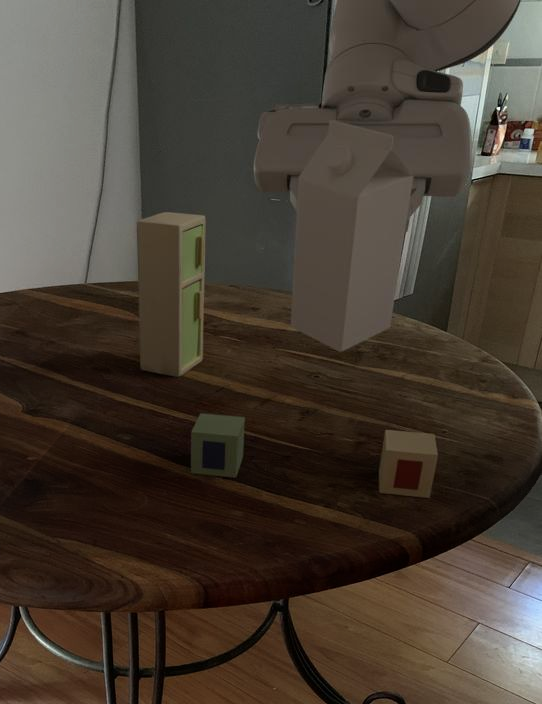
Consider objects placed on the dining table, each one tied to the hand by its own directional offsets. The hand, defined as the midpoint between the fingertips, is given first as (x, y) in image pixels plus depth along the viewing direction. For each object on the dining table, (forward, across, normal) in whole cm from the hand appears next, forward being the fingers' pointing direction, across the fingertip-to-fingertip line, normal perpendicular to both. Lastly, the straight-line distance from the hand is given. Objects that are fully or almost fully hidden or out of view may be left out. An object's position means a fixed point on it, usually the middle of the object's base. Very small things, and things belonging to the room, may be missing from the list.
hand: (352, 226), depth 70 cm
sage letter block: (+20, -12, +16) cm, 28 cm away
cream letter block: (+20, +8, +16) cm, 27 cm away
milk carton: (+7, 0, +8) cm, 10 cm away
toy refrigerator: (-1, -24, +37) cm, 44 cm away
